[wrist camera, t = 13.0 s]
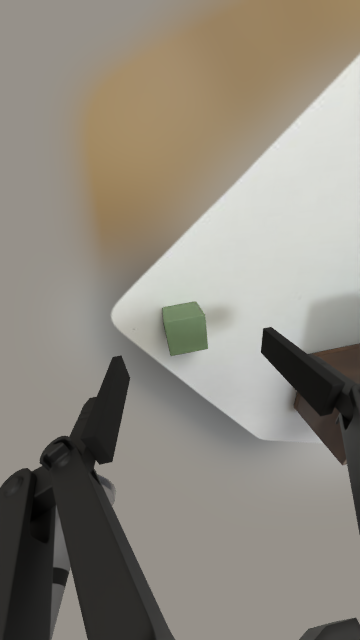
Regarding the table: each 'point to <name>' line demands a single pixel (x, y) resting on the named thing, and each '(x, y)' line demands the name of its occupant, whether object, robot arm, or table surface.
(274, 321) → the table surface
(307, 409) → the case
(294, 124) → the table surface
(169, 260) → the table surface
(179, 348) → the block
